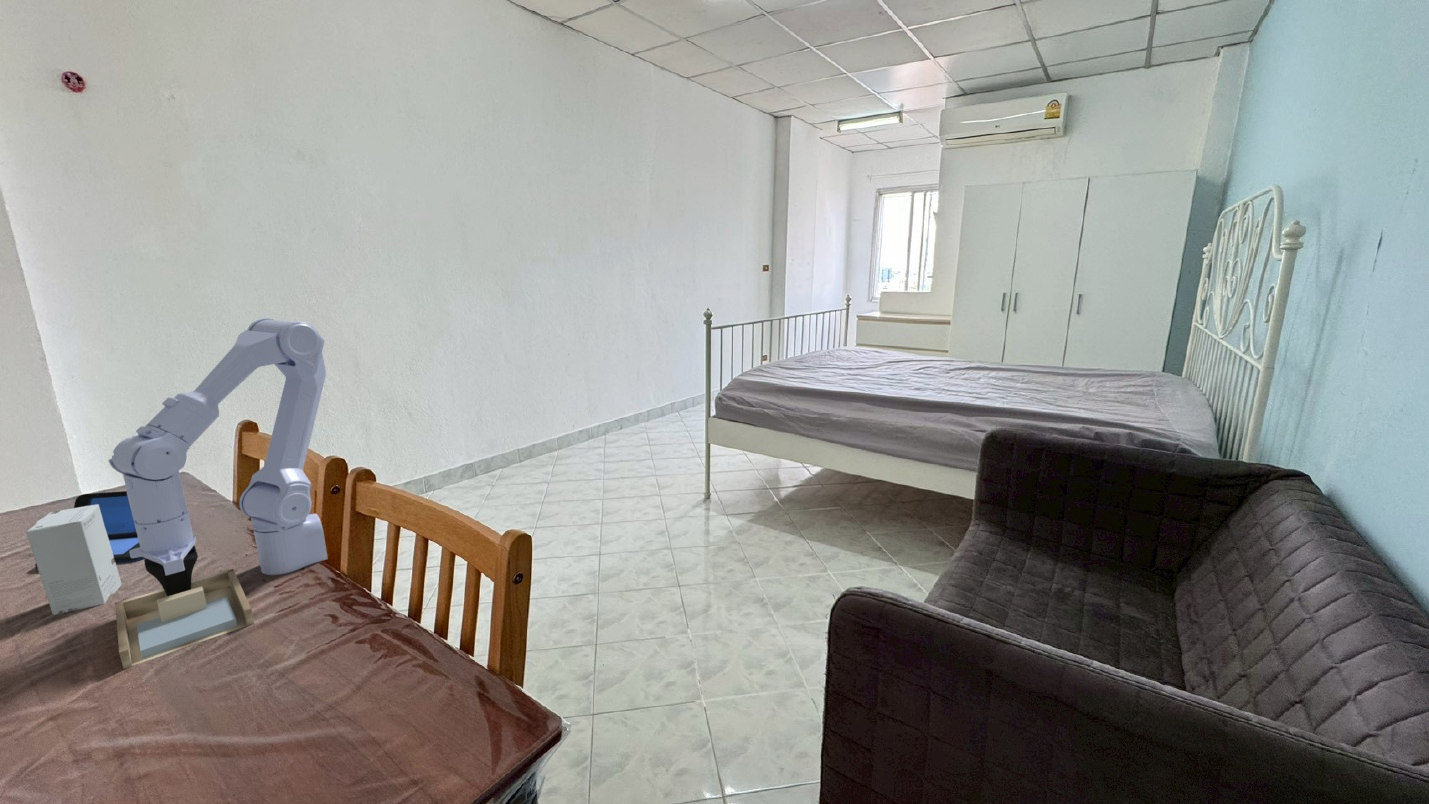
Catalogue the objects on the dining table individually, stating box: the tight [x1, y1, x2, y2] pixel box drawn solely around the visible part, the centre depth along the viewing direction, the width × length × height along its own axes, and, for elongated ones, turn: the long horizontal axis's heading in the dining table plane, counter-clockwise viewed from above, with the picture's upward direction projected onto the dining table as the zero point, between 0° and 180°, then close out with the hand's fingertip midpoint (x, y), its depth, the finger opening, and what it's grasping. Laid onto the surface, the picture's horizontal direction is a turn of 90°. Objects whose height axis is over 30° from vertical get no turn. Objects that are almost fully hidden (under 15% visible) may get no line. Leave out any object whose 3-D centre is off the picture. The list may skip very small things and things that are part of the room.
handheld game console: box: [35, 490, 144, 571], centre depth 105 cm, size 16×13×9 cm
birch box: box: [114, 568, 255, 670], centre depth 84 cm, size 14×16×4 cm
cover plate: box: [137, 586, 237, 659], centre depth 82 cm, size 10×8×4 cm
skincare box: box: [25, 504, 122, 616], centre depth 88 cm, size 8×6×15 cm
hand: (180, 597), depth 86 cm, fingers closed
